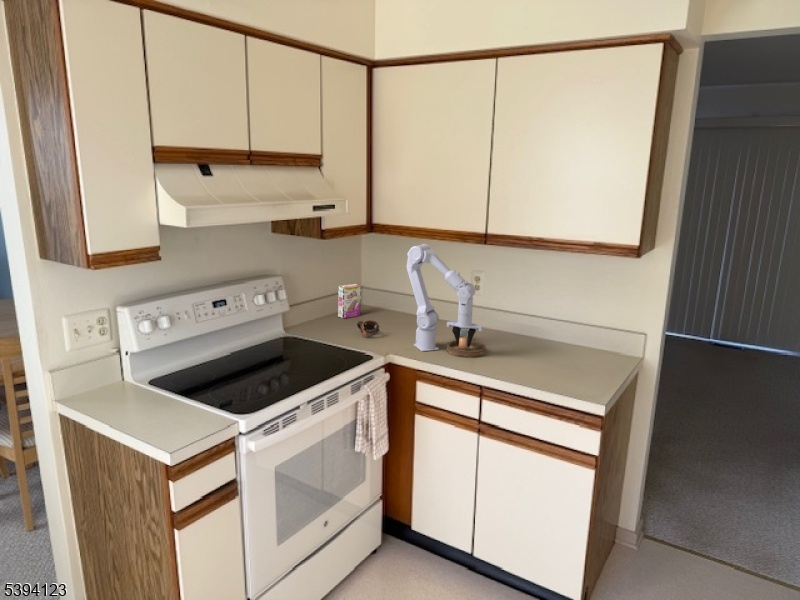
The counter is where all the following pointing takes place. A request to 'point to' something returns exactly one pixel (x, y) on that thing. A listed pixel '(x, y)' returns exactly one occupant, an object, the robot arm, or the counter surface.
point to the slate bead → (463, 332)
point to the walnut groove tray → (473, 351)
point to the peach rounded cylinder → (463, 343)
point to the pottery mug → (368, 327)
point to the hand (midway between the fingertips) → (463, 345)
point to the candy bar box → (349, 300)
